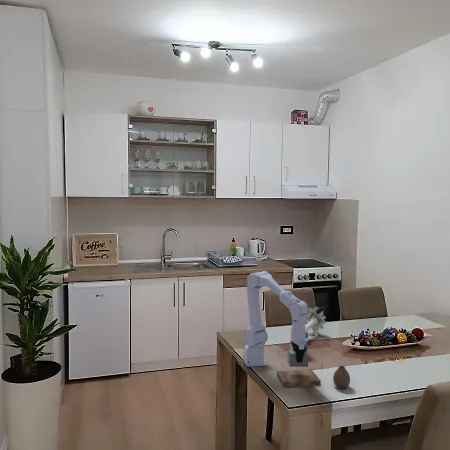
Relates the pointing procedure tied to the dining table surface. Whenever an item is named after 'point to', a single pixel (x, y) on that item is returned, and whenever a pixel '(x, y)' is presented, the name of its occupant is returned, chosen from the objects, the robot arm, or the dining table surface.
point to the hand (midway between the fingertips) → (298, 360)
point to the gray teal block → (293, 362)
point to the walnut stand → (298, 378)
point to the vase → (341, 378)
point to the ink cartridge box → (304, 344)
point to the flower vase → (314, 321)
